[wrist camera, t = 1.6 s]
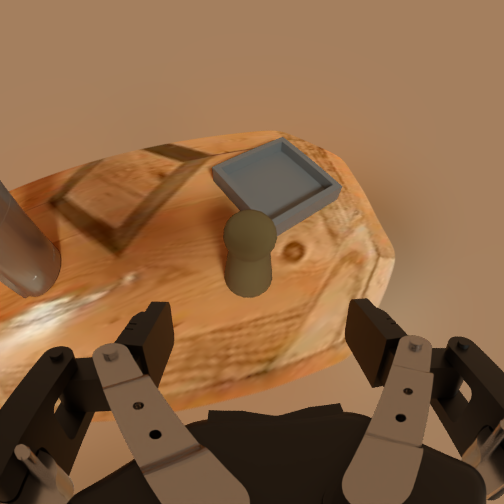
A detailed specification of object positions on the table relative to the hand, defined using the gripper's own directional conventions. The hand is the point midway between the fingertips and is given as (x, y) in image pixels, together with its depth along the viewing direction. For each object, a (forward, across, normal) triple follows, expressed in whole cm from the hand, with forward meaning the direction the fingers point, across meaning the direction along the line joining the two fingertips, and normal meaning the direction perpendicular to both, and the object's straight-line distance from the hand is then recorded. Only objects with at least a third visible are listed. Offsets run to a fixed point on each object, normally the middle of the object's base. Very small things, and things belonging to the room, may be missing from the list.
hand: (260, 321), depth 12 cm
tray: (+33, -4, -4) cm, 33 cm away
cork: (+23, 0, +6) cm, 24 cm away
